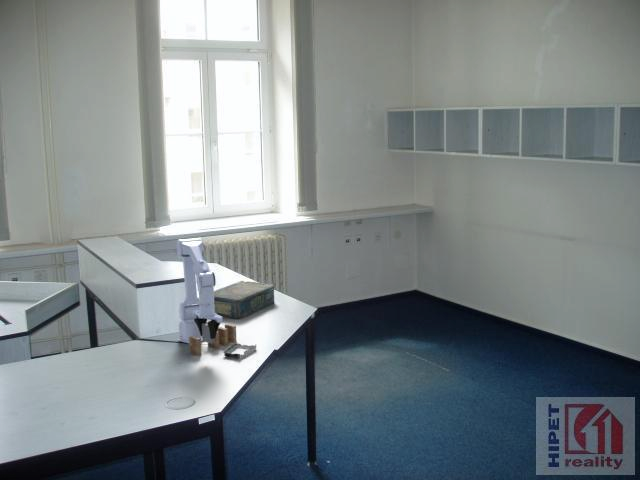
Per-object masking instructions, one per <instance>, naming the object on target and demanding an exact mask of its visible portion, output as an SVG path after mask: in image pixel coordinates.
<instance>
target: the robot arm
mask: <svg viewBox="0 0 640 480" xmlns="http://www.w3.org/2000/svg"><path fill="white" fill-rule="evenodd" d="M176 250H177V251H176V254H177V258H178V259H181V260H182V265H183V266H182V267H183V278H184V279H183V281H184V292H185V298H184V299H182V300H181V301H180V302H179V309H178V311H179V318H180V321H179V323H178V339H177V341H178V342H183V343H186V344H189V337H190V336H194V337H198V338H201V343H202V342H203V341H202V323H207V324H208V327H209V331H210V338H211V339H214V338H216V334H217V330H218V327H220V325H221V324H222V322H223V317H221V316H219V315H217V314H216V313H215V307H214V291H215V287H216V285H217V284H216V283H217V281H216V274H215V272H214V271H213V270H212V269H210V267H209V264H208V262H207V261H206V260H205V259H204V258H203V255H202V253H203V252H204V241H203V239H202V237H195V238H184V239H181V238H180V239H178V240H177V243H176ZM209 320H210V321H209Z"/></svg>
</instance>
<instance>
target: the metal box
mask: <svg viewBox="0 0 640 480" xmlns="http://www.w3.org/2000/svg"><path fill="white" fill-rule="evenodd" d="M274 285H275V284H273V283H266V282H265V283H262V282H257V281H244V280H240V281H238V282H235V283H232V284H230V285H227V286H224V287H221V288H219V289H216V290H214V307H215V313H216V314H217V315H219V316H221V317H222V318H226V317H227V318H228V319H235V320H238V319H243V318H245V317H247V316H249V315H251V314H253V313H255V312H258V311H259V310H262V309H264V308H266V307H267V308H268V306H270V305H273V304H274V303H275V286H274ZM227 318H226V319H227Z"/></svg>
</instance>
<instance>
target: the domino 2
mask: <svg viewBox="0 0 640 480" xmlns="http://www.w3.org/2000/svg"><path fill="white" fill-rule="evenodd" d="M202 342H204V343H207V344H208V343H211V344H212V343H214V339H211V338H210V331H209V327H208V324H207V323H202Z"/></svg>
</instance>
